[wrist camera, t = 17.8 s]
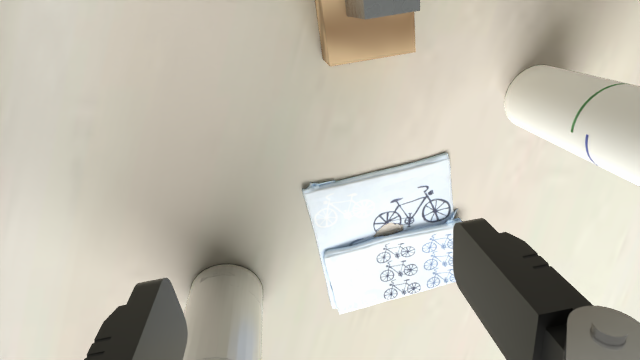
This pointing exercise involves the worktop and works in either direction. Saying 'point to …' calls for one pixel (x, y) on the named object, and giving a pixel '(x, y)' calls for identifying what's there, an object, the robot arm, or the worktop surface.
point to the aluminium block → (379, 8)
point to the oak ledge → (362, 34)
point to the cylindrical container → (580, 116)
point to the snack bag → (384, 251)
